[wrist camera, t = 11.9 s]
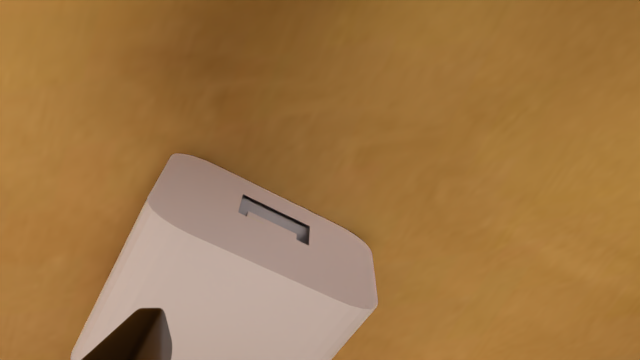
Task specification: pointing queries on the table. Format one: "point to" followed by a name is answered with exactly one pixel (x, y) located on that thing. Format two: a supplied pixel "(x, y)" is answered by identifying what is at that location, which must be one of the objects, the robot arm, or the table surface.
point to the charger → (236, 272)
